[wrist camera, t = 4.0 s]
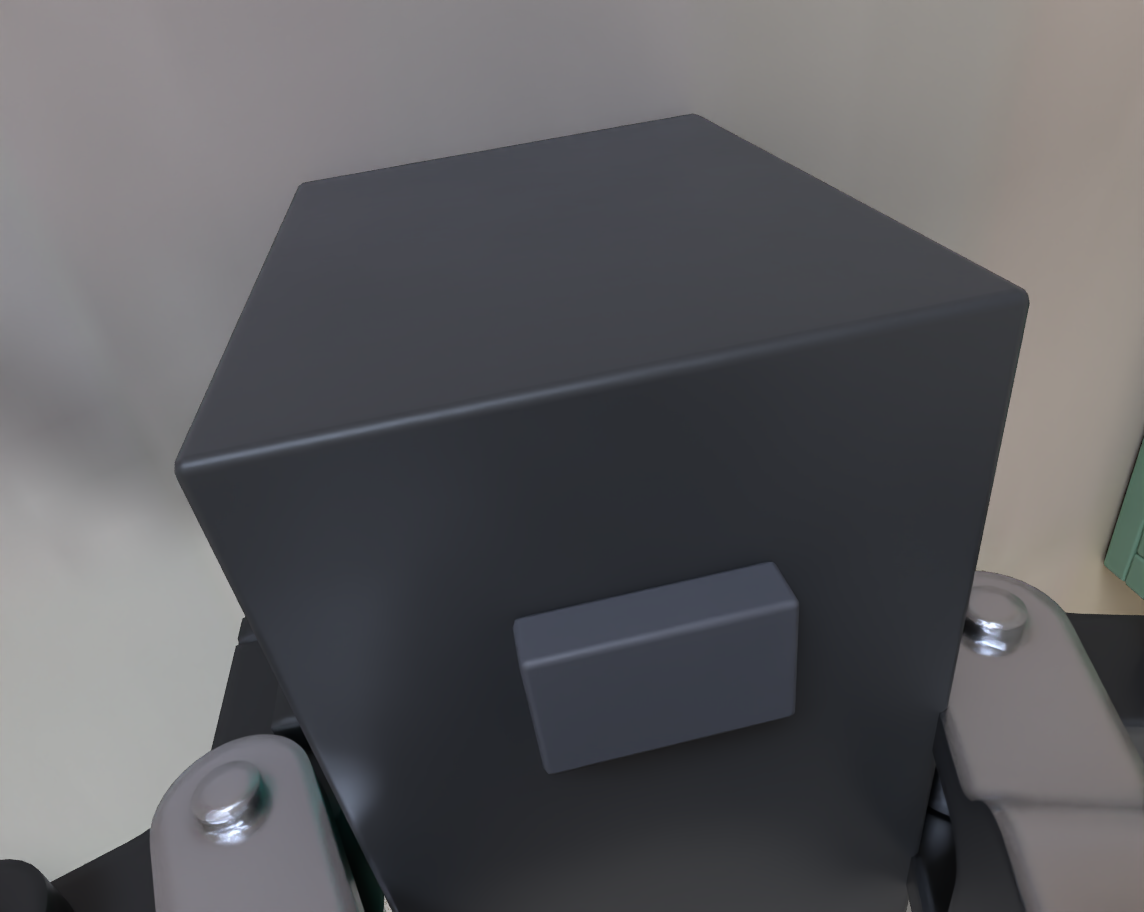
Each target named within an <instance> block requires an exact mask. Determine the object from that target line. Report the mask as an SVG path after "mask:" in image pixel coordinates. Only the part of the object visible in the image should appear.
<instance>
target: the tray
mask: <svg viewBox="0 0 1144 912" xmlns="http://www.w3.org/2000/svg"><path fill="white" fill-rule="evenodd" d="M1104 565H1105V566H1106V567H1107V568H1108V569H1109V570H1110V571H1111V572H1112V573H1114V574H1115V575H1116V576H1117V577H1118V578H1119V579H1121V580H1122V581H1125V583H1126V585H1127V586H1128V587H1130V588H1131V589H1132V590H1133V591H1134V592H1135V593H1137V594H1138V595H1139V596H1140V597H1141V598H1142V599H1143V600H1144V439H1143V442H1142V445H1141V448H1140V451H1139V454H1138V457H1137V461H1136V464H1135V467H1134V470H1133V473H1132V476H1131V479H1130V482H1129V486H1128V489H1127V492H1126V495H1125V498H1124V501H1123V504H1122V508H1121V511H1120V514H1119V517H1118V520H1117V523H1116V526H1115V529H1114V533H1113V536H1112V539H1111V542H1110V545H1109V548H1108V551H1107V555H1106V558H1105V561H1104Z"/></svg>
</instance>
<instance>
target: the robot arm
mask: <svg viewBox="0 0 1144 912" xmlns="http://www.w3.org/2000/svg"><path fill="white" fill-rule="evenodd" d="M238 641H239V645H237V646H236V648H235V652H234V657H233V661H232V665H231V669H230V673H229V678H228V682H227V686H226V690H225V694H224V699H223V703H222V707H221V711H220V715H219V720H218V724H217V728H216V732H215V736H214V741H213V745H212V749H211V751H210V752H208V753H207V754H205V755H204V756H202V757H201V758H199V759H198V760H196V761H195V762H194V763H193V764H192V765H191V766H189V767H188V768H187V769H186V770H185V771H184V772H183V773H182V774H181V775H180V776H179V777H178V778H177V779H176V780H175V781H174V782H173V784H172V785H171V786H170V788H169V789H168V790H167V792H166V793H165V795H164V796H163V798H162V800H161V801H160V803H159V805H158V807H157V809H156V812H155V814H154V817H153V820H152V824H151V828H150V829H148V830H147V831H145V832H144V833H143V834H141V835H139V836H137V837H136V838H134V839H132V840H131V841H129V842H127V843H125V844H123V845H121V846H119V847H117V848H116V849H114V850H112V851H110V852H108V853H106V854H104V855H102V856H100V857H98V858H96V859H94V860H92V861H91V862H89V863H87V864H85V865H83V866H81V867H79V868H77V869H75V870H73V871H71V872H69V873H67V874H66V875H64V876H62V877H60V878H58V879H56V880H54V881H52V882H49V881H48V880H47V879H46V877H45V876H44V875H43V874H42V873H41V872H40V871H39V870H38V869H37V868H35V867H34V866H33V865H32V864H29V863H26V862H24V861H20V860H12V859H7V860H0V912H386V910H385V908H384V894H383V892H382V889H381V887H380V885H379V883H378V881H377V879H376V877H375V875H374V873H373V871H372V869H371V867H370V865H369V863H368V861H367V859H366V857H365V855H364V853H363V851H362V849H361V847H360V845H359V843H358V841H357V839H356V837H355V835H354V833H353V831H352V829H351V827H350V825H349V823H348V821H347V819H346V817H345V815H344V813H343V811H342V809H341V807H340V805H339V803H338V801H337V799H336V797H335V795H334V793H333V791H332V789H331V787H330V785H329V783H328V781H327V779H326V777H325V775H324V773H323V771H322V769H321V767H320V765H319V763H318V761H317V759H316V757H315V755H314V753H313V751H312V749H311V747H310V745H309V743H308V741H307V739H306V737H305V735H304V733H303V731H302V729H301V727H300V725H299V723H298V721H297V719H296V717H295V715H294V713H293V711H292V709H291V707H290V705H289V703H288V701H287V699H286V697H285V695H284V693H283V691H282V689H281V686H280V684H279V682H278V680H277V678H276V676H275V674H274V672H273V670H272V668H271V666H270V664H269V662H268V660H267V658H266V656H265V654H264V652H263V650H262V648H261V646H260V644H259V642H258V640H257V638H256V636H255V634H254V632H253V630H252V628H251V626H250V624H249V622H248V620H247V618H246V616H245V618H243V619H242V623H241V627H240V631H239V636H238ZM932 752H933V756H934V760H935V763H936V767H935V772H934V777H933V782H932V787H931V792H930V797H929V802H928V807H927V811H926V816H925V821H924V826H923V831H922V836H921V841H920V846H919V851H918V853H917V854H916V855H915V856H913V857H911V861H910V866H909V871H908V876H907V882H906V887H907V892H908V896H909V901H910V906H911V911H912V912H1144V615H1104V614H1076V613H1065V612H1064V611H1063V610H1062V609H1061V607H1060V606H1059V605H1058V604H1057V603H1056V602H1055V601H1053V600H1052V599H1051V598H1050V597H1049V596H1047V595H1046V594H1045V593H1043V592H1041V591H1040V590H1038V589H1037V588H1035V587H1033V586H1031V585H1029V584H1027V583H1025V582H1023V581H1020V580H1018V579H1015V578H1012V577H1009V576H1006V575H1002V574H998V573H993V572H986V571H975V575H974V580H973V585H972V590H971V594H970V599H969V604H968V609H967V614H966V619H965V624H964V629H963V634H962V639H961V644H960V649H959V654H958V659H957V664H956V668H955V673H954V678H953V683H952V688H951V693H950V698H949V703H948V708H946V709H945V710H944V711H943V712H940V713H939V717H938V722H937V728H936V733H935V738H934V743H933V748H932Z"/></svg>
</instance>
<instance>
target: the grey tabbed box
mask: <svg viewBox="0 0 1144 912" xmlns="http://www.w3.org/2000/svg"><path fill="white" fill-rule="evenodd" d="M1029 304H1030V303H1029V297H1028V294H1027V293H1026V291H1025V290H1024V289H1023V288H1021V287H1019V286H1017V285H1015V284H1013V283H1011V282H1010V281H1008V280H1006V279H1004V278H1002V277H1000V276H998V275H996V274H995V273H993V272H991V271H989V270H987V269H985V268H983V267H982V266H980V265H978V264H976V263H974V262H972V261H970V260H968V259H967V258H965V257H963V256H961V255H959V254H957V253H955V252H953V251H952V250H950V249H948V248H946V247H944V246H942V245H940V244H939V243H937V242H935V241H933V240H931V239H929V238H927V237H925V236H924V235H922V234H920V233H918V232H916V231H914V230H912V229H910V228H909V227H907V226H905V225H903V224H901V223H899V222H897V221H895V220H894V219H892V218H890V217H888V216H886V215H884V214H882V213H881V212H879V211H877V210H875V209H873V208H871V207H869V206H867V205H866V204H864V203H862V202H860V201H858V200H856V199H854V198H852V197H851V196H849V195H847V194H845V193H843V192H841V191H839V190H838V189H836V188H834V187H832V186H830V185H828V184H826V183H824V182H823V181H821V180H819V179H817V178H815V177H813V176H811V175H809V174H808V173H806V172H804V171H802V170H800V169H798V168H796V167H794V166H793V165H791V164H789V163H787V162H785V161H783V160H781V159H780V158H778V157H776V156H774V155H772V154H770V153H768V152H766V151H765V150H763V149H761V148H759V147H757V146H755V145H753V144H751V143H750V142H748V141H746V140H744V139H742V138H740V137H738V136H737V135H735V134H733V133H731V132H729V131H727V130H725V129H723V128H722V127H720V126H718V125H716V124H714V123H712V122H710V121H708V120H707V119H705V118H703V117H701V116H699V115H696V114H689V115H683V116H677V117H672V118H666V119H660V120H655V121H649V122H644V123H638V124H632V125H627V126H621V127H615V128H610V129H604V130H598V131H593V132H587V133H581V134H576V135H570V136H565V137H559V138H553V139H548V140H542V141H536V142H531V143H525V144H519V145H514V146H508V147H503V148H497V149H491V150H486V151H480V152H474V153H469V154H463V155H457V156H452V157H446V158H440V159H435V160H429V161H424V162H418V163H412V164H407V165H401V166H395V167H390V168H384V169H378V170H373V171H367V172H361V173H356V174H350V175H345V176H339V177H333V178H328V179H322V180H316V181H311V182H305V183H302V184H301V185H299V186H298V189H297V191H296V193H295V195H294V197H293V200H292V202H291V204H290V206H289V209H288V211H287V213H286V215H285V217H284V220H283V222H282V224H281V226H280V229H279V231H278V233H277V235H276V237H275V240H274V242H273V244H272V246H271V249H270V251H269V253H268V255H267V258H266V260H265V262H264V264H263V266H262V269H261V271H260V273H259V275H258V278H257V280H256V282H255V284H254V286H253V289H252V291H251V293H250V295H249V298H248V300H247V302H246V304H245V307H244V309H243V311H242V313H241V315H240V318H239V320H238V322H237V324H236V327H235V329H234V331H233V333H232V335H231V338H230V340H229V342H228V344H227V347H226V349H225V351H224V353H223V355H222V358H221V360H220V362H219V364H218V367H217V369H216V371H215V373H214V376H213V378H212V380H211V382H210V384H209V387H208V389H207V391H206V393H205V396H204V398H203V400H202V402H201V404H200V407H199V409H198V411H197V413H196V416H195V418H194V420H193V422H192V425H191V427H190V429H189V431H188V433H187V436H186V438H185V440H184V442H183V445H182V447H181V449H180V451H179V453H178V456H177V458H176V460H175V475H176V477H177V479H178V481H179V483H180V486H181V488H182V490H183V492H184V494H185V496H186V498H187V500H188V502H189V504H190V506H191V508H192V510H193V512H194V514H195V516H196V518H197V520H198V522H199V524H200V526H201V528H202V530H203V532H204V534H205V536H206V538H207V540H208V542H209V544H210V546H211V548H212V550H213V552H214V554H215V556H216V558H217V560H218V562H219V564H220V566H221V568H222V570H223V572H224V574H225V576H226V578H227V580H228V582H229V584H230V586H231V588H232V590H233V592H234V594H235V596H236V598H237V600H238V602H239V604H240V606H241V608H242V610H243V612H244V614H245V616H246V618H247V620H248V622H249V624H250V626H251V628H252V630H253V632H254V634H255V636H256V638H257V640H258V642H259V644H260V646H261V648H262V650H263V652H264V654H265V656H266V658H267V660H268V662H269V664H270V666H271V668H272V670H273V672H274V674H275V676H276V678H277V680H278V682H279V684H280V686H281V689H282V691H283V693H284V695H285V697H286V699H287V701H288V703H289V705H290V707H291V709H292V711H293V713H294V715H295V717H296V719H297V721H298V723H299V725H300V727H301V729H302V731H303V733H304V735H305V737H306V739H307V741H308V743H309V745H310V747H311V749H312V751H313V753H314V755H315V757H316V759H317V761H318V763H319V765H320V767H321V769H322V771H323V773H324V775H325V777H326V779H327V781H328V783H329V785H330V787H331V789H332V791H333V793H334V795H335V797H336V799H337V801H338V803H339V805H340V807H341V809H342V811H343V813H344V815H345V817H346V819H347V821H348V823H349V825H350V827H351V829H352V831H353V833H354V835H355V837H356V839H357V841H358V843H359V845H360V847H361V849H362V851H363V853H364V855H365V857H366V859H367V861H368V863H369V865H370V867H371V869H372V871H373V873H374V875H375V877H376V879H377V881H378V883H379V885H380V887H381V889H382V892H383V894H384V896H385V898H386V900H387V902H388V904H389V906H390V908H391V910H392V912H906V910H907V905H908V900H909V896H908V892H907V887H906V882H907V876H908V871H909V866H910V861H911V857H913V856H915V855H916V854H917V853H918V851H919V846H920V841H921V836H922V831H923V826H924V821H925V816H926V811H927V807H928V802H929V797H930V792H931V787H932V782H933V777H934V772H935V767H936V763H935V760H934V756H933V752H932V748H933V743H934V738H935V733H936V728H937V722H938V717H939V713H940V712H943V711H944V710H945V709H946V708H948V703H949V698H950V693H951V688H952V683H953V678H954V673H955V668H956V664H957V659H958V654H959V649H960V644H961V639H962V634H963V629H964V624H965V619H966V614H967V609H968V604H969V599H970V594H971V590H972V585H973V580H974V575H975V570H976V565H977V560H978V555H979V550H980V545H981V540H982V535H983V530H984V525H985V521H986V516H987V511H988V506H989V501H990V496H991V491H992V486H993V481H994V476H995V471H996V466H997V461H998V456H999V451H1000V447H1001V442H1002V437H1003V432H1004V427H1005V422H1006V417H1007V412H1008V407H1009V402H1010V397H1011V392H1012V387H1013V382H1014V378H1015V373H1016V368H1017V363H1018V358H1019V353H1020V348H1021V343H1022V338H1023V333H1024V328H1025V323H1026V318H1027V313H1028V308H1029Z"/></svg>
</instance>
